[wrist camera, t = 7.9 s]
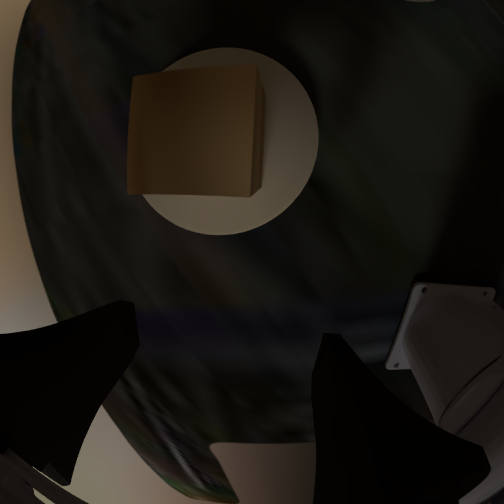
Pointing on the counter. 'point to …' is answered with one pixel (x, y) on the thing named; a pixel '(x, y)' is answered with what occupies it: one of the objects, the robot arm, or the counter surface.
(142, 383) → the counter surface
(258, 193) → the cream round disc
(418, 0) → the teacup
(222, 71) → the oak cube
